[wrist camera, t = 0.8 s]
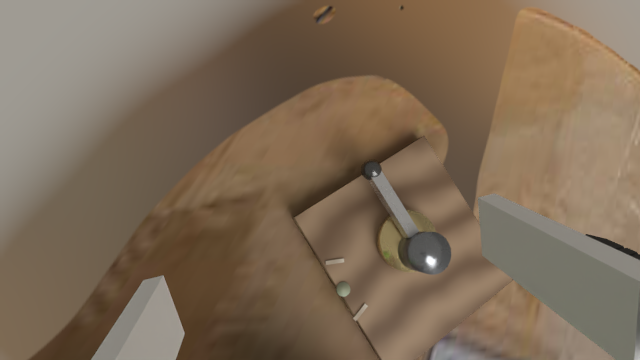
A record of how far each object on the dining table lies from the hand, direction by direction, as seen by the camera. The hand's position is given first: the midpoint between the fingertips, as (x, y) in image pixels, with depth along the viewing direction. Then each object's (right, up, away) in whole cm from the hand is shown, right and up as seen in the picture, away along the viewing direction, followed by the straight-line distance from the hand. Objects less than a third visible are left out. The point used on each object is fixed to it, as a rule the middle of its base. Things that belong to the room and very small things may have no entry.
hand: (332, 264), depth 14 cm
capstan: (+9, -1, +32) cm, 34 cm away
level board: (+11, -6, +35) cm, 37 cm away
